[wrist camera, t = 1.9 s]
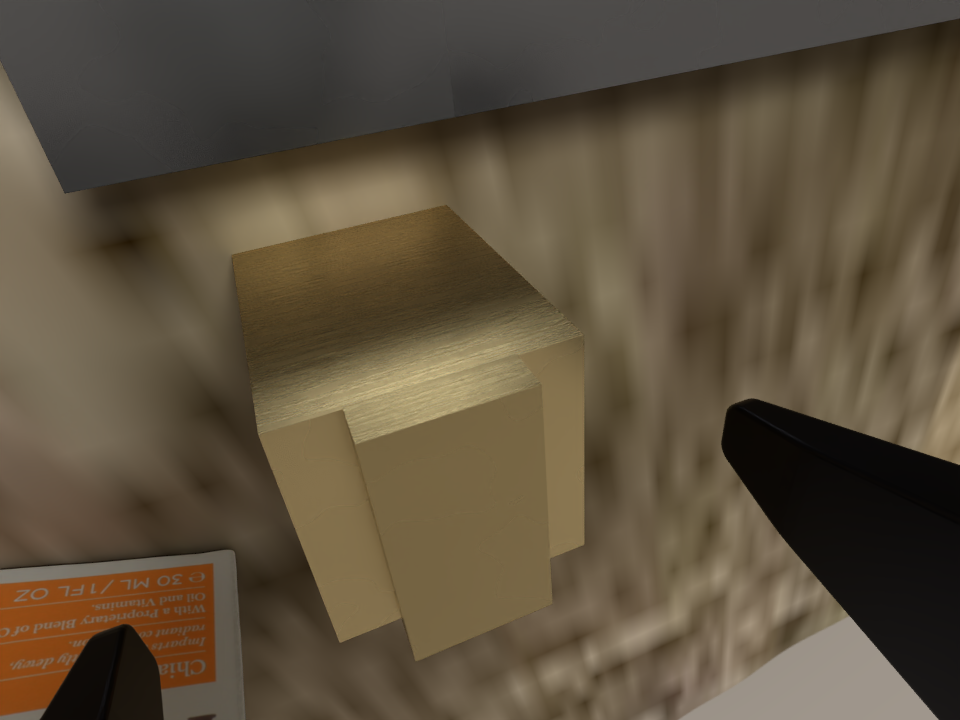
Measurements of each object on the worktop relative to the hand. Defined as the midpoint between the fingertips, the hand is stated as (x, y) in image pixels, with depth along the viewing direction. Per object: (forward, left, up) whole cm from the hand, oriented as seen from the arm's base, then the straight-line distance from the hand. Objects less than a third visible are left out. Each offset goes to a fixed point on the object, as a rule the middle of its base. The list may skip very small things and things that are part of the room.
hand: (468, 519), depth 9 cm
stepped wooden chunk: (0, 0, -6) cm, 7 cm away
